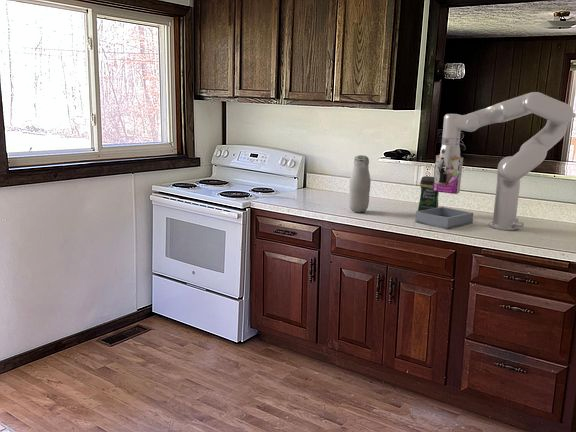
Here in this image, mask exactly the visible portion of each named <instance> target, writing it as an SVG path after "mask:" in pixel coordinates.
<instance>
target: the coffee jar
mask: <svg viewBox="0 0 576 432" xmlns="http://www.w3.org/2000/svg"><path fill="white" fill-rule="evenodd" d="M433 182H434V176H424V175H423V176H422V177H421V178H420V183H419V186H420V196H419V201H418V207H417V211H422V210H427V209H432V208H437V207H439V193H440V192H436V191H433Z"/></svg>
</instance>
